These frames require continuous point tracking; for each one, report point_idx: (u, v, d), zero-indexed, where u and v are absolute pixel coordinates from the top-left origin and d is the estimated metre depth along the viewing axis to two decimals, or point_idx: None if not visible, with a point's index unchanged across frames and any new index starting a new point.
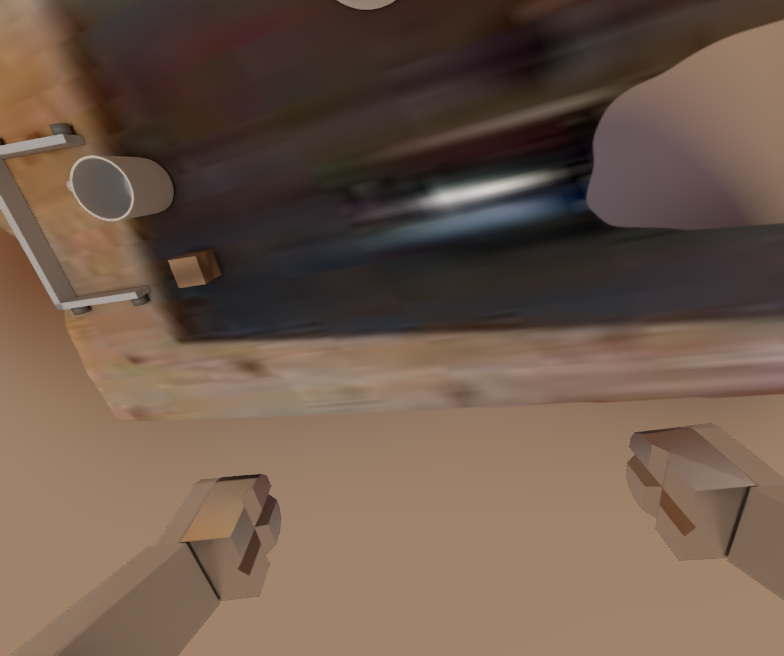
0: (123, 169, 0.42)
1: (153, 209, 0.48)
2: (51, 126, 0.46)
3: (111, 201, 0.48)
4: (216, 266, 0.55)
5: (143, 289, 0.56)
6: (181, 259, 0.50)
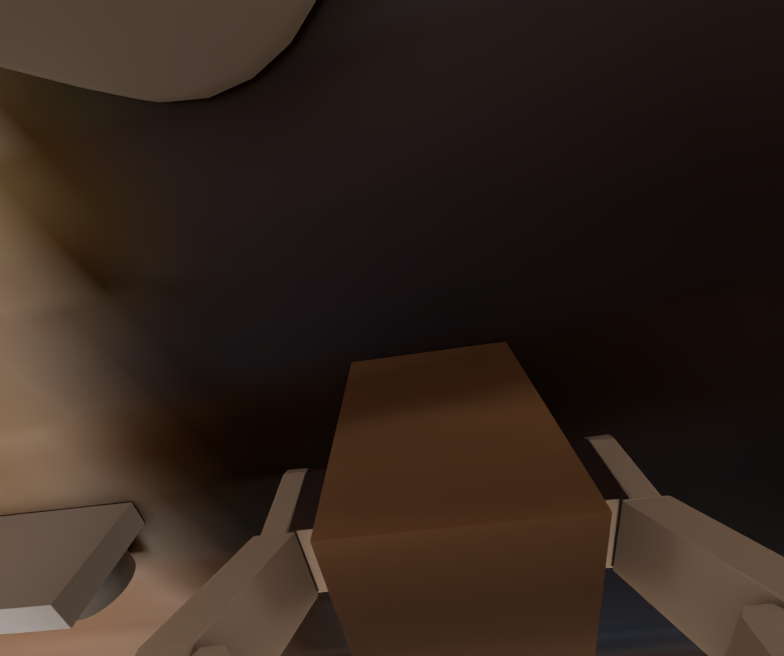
0: None
1: None
2: None
3: None
4: None
5: (108, 541, 0.11)
6: (450, 534, 0.05)
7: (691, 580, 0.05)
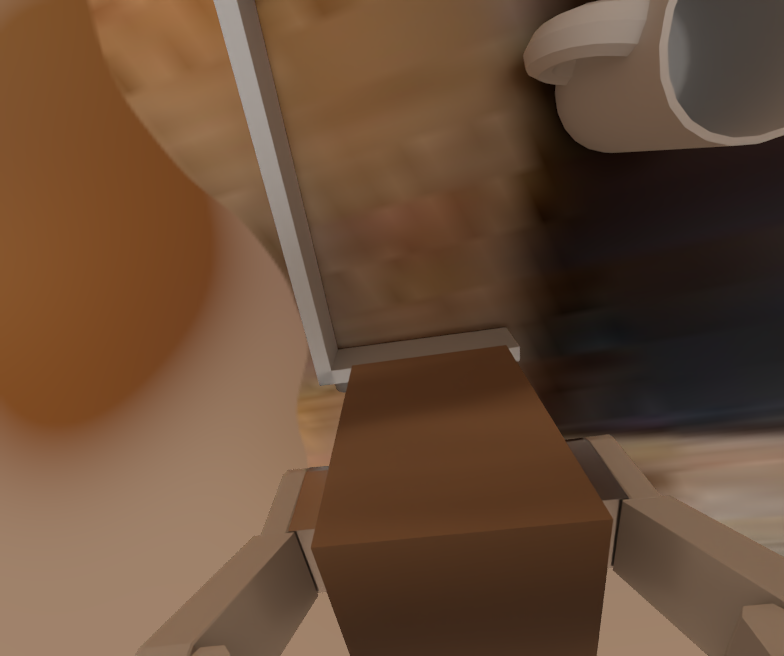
0: None
1: None
2: None
3: None
4: None
5: None
6: (450, 541, 0.05)
7: (691, 580, 0.05)
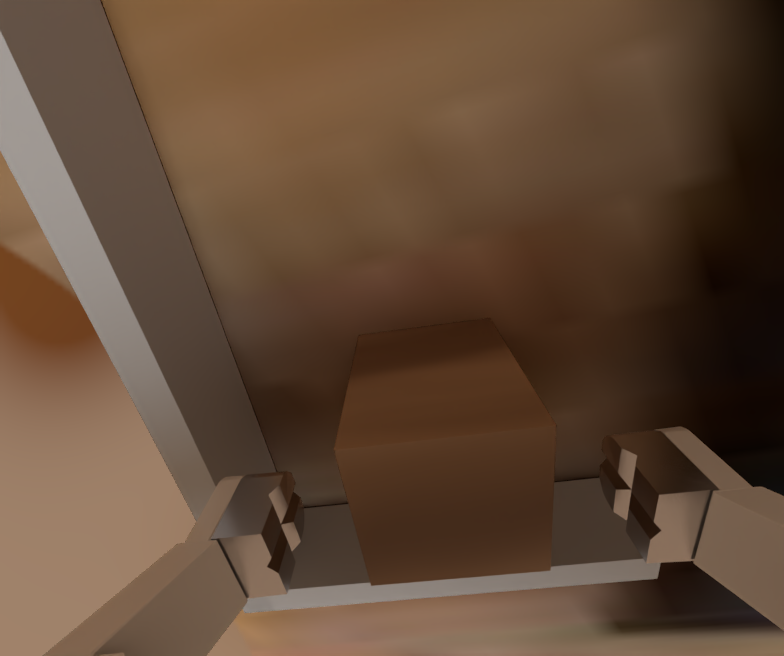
0: None
1: None
2: None
3: None
4: None
5: None
6: (438, 444, 0.07)
7: None
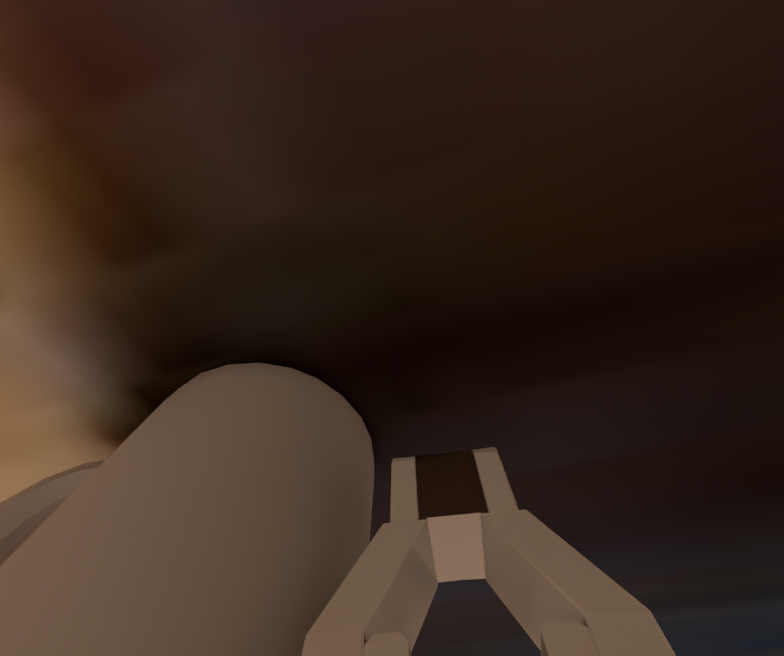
0: None
1: None
2: None
3: None
4: None
5: None
6: None
7: (531, 593, 0.06)
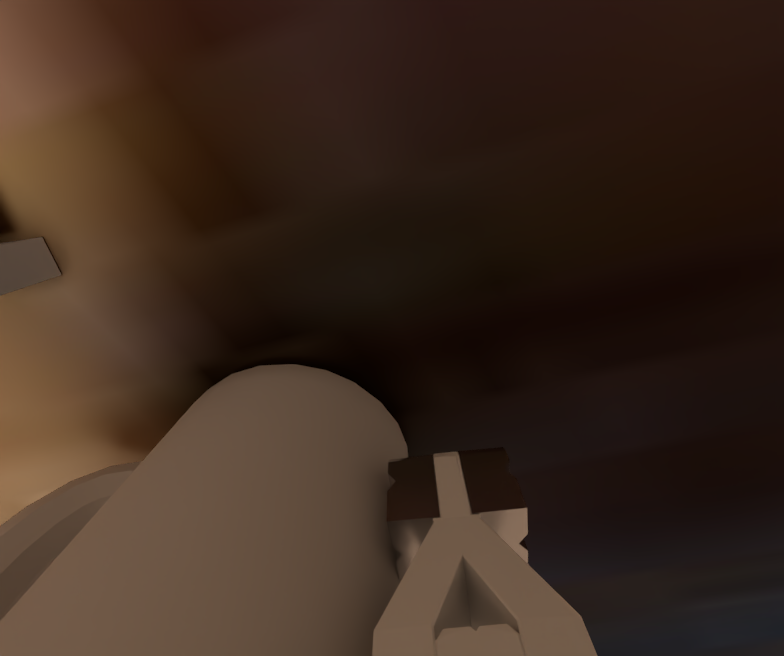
0: None
1: None
2: None
3: None
4: None
5: None
6: None
7: (476, 597, 0.06)
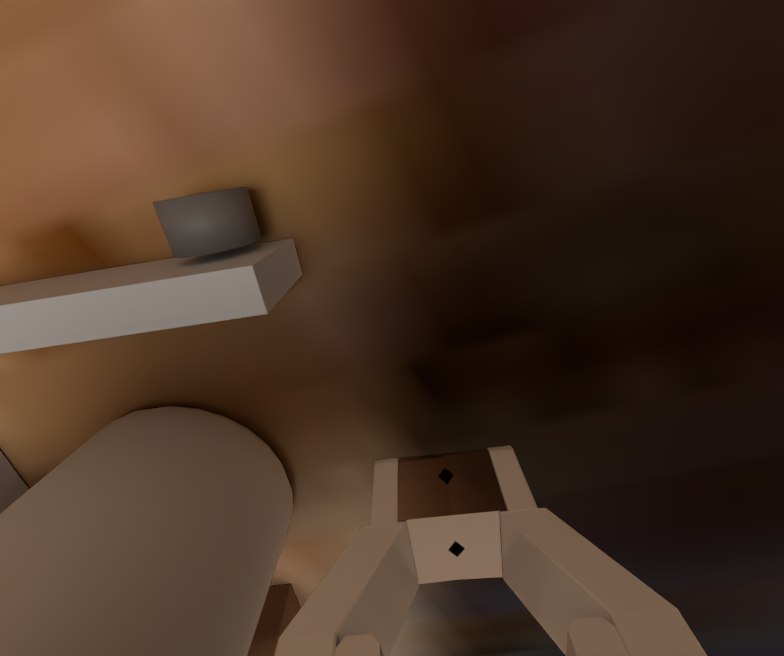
0: None
1: None
2: (169, 210, 0.08)
3: None
4: None
5: None
6: None
7: (552, 591, 0.06)
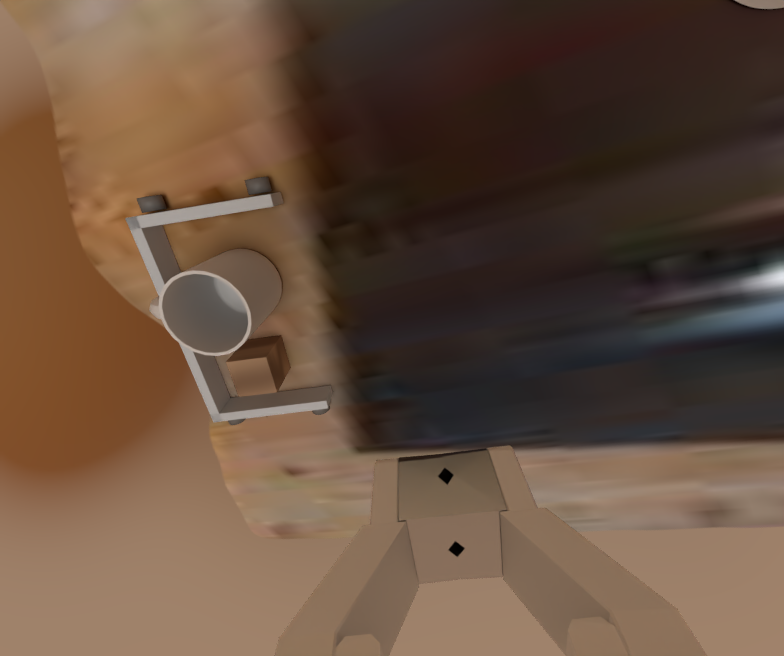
0: (234, 283, 0.28)
1: (263, 320, 0.34)
2: (249, 181, 0.31)
3: (206, 317, 0.34)
4: (285, 358, 0.40)
5: (329, 392, 0.41)
6: (245, 361, 0.35)
7: (552, 591, 0.06)
